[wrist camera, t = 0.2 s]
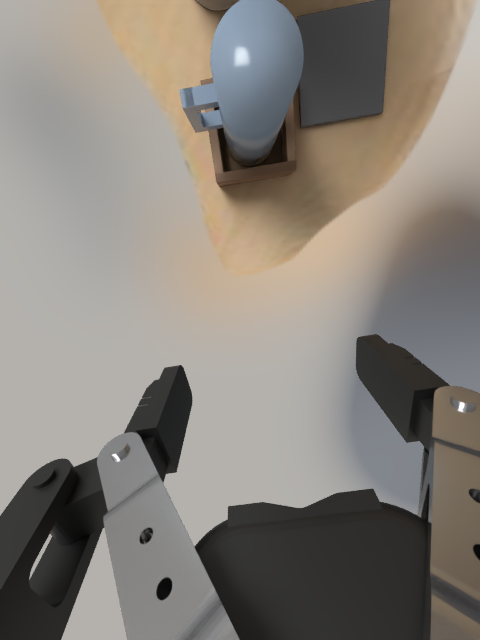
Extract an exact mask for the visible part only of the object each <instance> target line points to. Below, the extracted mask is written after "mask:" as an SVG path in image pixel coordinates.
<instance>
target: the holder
mask: <svg viewBox="0 0 480 640" xmlns="http://www.w3.org/2000/svg"><path fill="white" fill-rule="evenodd" d="M211 83H214V82H213V78H211V79H206V80H201V85H206V84H211ZM210 111H215V108H210V109H205V112H210ZM208 131H209V137H210V144H211V150H212V156H213V162H214V169H215V175H216V181H217V184H218V185H219V186H225V185H231V184H237V183H243V182H249V181H255V180H261V179H267V178H273V177H279V176H285V175H291V174H292V173H293V172H294V171H295V170H296V149H295V128H294V107H293V99H292V101H291V104H290V106H289V109H288V111H287V114H286V116H285V119H284V121H283V124H282V126H281V139H282V154H283V162H281V163H275V164H269V165H263V166H258V167H252V168H246V169H240V170H234V171H228V172H224V166H223V159H222V152H221V145H220V139H219V132H218V129H214V130H208Z"/></svg>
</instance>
